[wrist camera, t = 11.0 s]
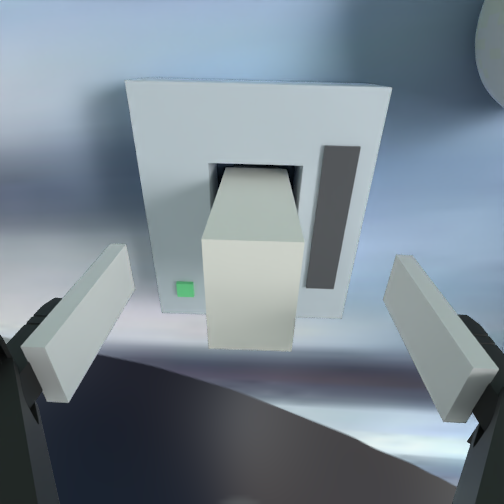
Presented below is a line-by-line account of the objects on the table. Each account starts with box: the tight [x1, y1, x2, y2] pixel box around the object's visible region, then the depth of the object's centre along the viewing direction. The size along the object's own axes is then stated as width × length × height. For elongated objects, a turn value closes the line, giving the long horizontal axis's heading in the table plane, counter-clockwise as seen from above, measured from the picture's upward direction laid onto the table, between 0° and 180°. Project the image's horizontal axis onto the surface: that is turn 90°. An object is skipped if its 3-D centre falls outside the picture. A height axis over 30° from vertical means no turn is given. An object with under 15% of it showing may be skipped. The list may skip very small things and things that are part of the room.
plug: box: [201, 165, 305, 351], centre depth 19 cm, size 4×6×12 cm, turn 179°
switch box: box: [125, 78, 392, 319], centre depth 22 cm, size 14×16×4 cm
